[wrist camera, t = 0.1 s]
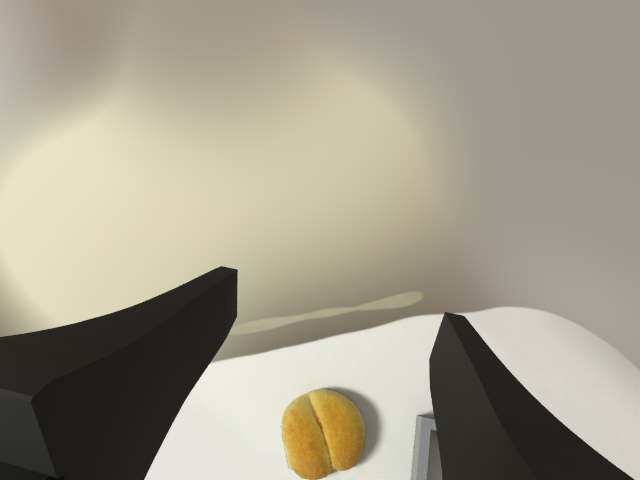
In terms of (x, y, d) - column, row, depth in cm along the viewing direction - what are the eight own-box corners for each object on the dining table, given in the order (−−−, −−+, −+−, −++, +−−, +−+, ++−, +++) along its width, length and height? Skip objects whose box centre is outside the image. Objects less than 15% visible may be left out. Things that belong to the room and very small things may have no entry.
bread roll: (374, 458, 38) (378, 464, 35) (293, 485, 37) (289, 494, 34) (350, 379, 41) (351, 377, 38) (275, 402, 41) (269, 403, 37)
